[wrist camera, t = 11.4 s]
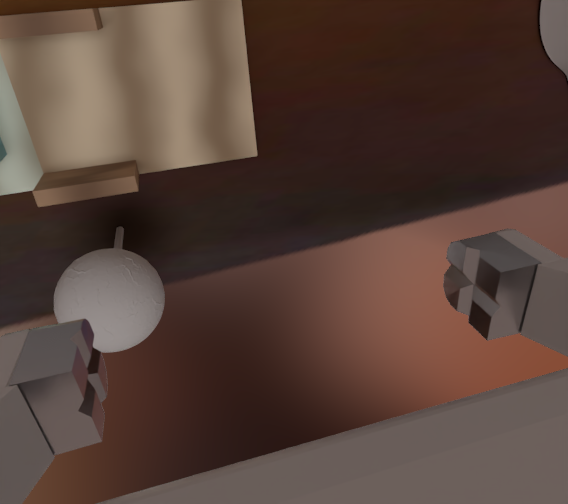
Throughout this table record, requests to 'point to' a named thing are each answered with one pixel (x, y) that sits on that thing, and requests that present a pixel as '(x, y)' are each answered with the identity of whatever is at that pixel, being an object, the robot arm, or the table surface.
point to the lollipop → (111, 296)
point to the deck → (121, 96)
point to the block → (2, 150)
